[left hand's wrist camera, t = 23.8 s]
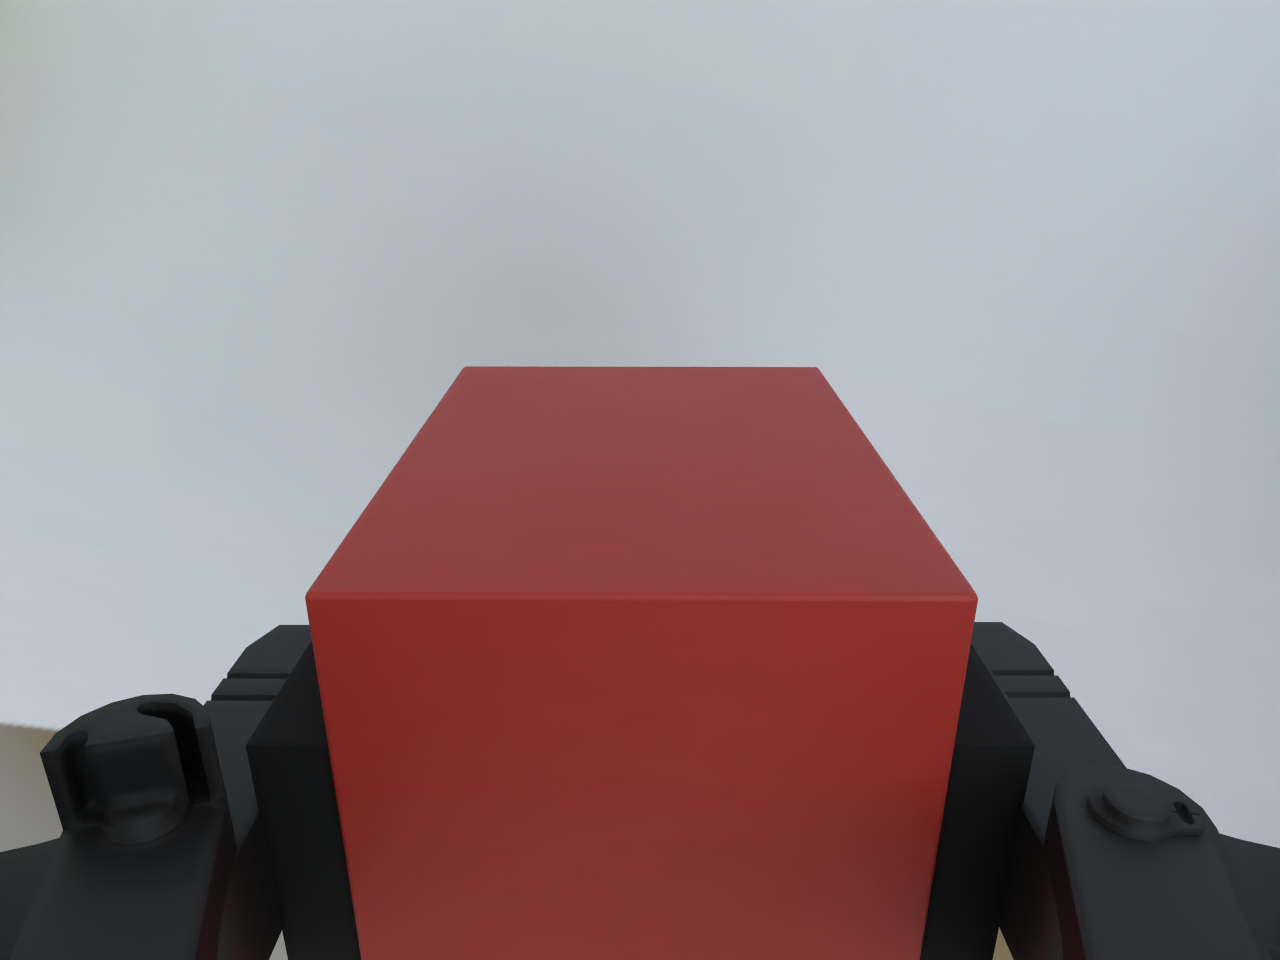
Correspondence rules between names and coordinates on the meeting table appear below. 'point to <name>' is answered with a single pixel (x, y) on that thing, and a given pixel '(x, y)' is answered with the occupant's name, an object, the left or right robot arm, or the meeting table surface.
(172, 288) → the meeting table surface
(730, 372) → the brick
